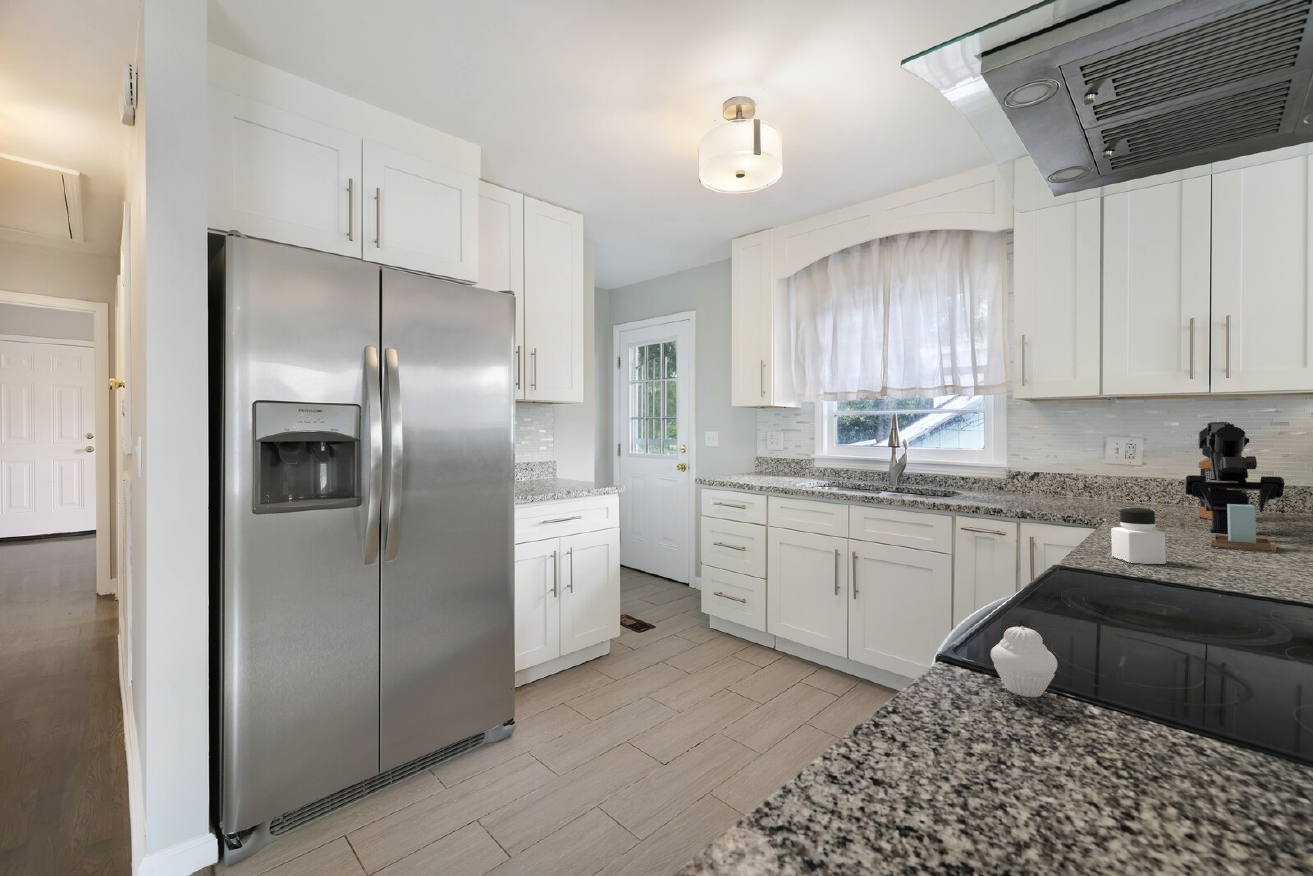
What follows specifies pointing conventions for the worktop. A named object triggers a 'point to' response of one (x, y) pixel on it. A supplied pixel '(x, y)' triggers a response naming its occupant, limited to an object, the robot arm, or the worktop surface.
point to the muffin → (1024, 662)
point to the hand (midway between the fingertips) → (1236, 510)
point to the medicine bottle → (1138, 537)
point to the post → (1241, 523)
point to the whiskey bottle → (1206, 471)
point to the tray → (1244, 544)
